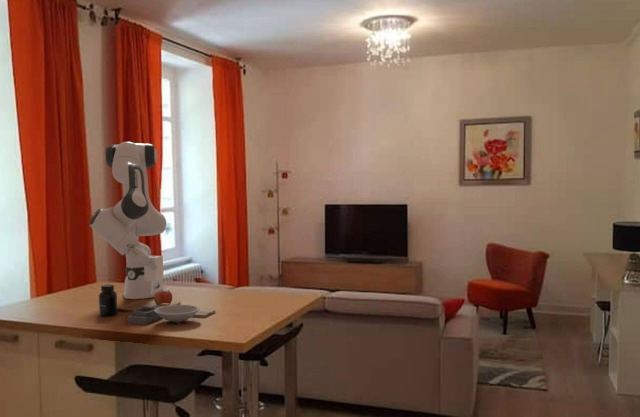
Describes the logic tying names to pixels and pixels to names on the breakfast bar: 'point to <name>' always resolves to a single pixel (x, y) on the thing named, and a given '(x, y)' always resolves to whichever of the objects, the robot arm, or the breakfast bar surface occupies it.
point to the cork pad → (203, 313)
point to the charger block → (154, 274)
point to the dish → (176, 312)
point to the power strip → (145, 314)
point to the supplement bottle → (107, 301)
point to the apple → (163, 297)
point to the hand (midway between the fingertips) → (155, 267)
